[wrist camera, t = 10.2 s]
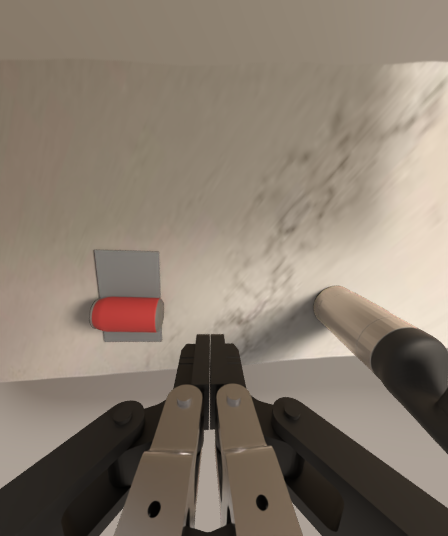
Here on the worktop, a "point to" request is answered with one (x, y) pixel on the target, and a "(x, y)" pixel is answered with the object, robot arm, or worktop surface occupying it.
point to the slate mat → (129, 284)
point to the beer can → (127, 314)
